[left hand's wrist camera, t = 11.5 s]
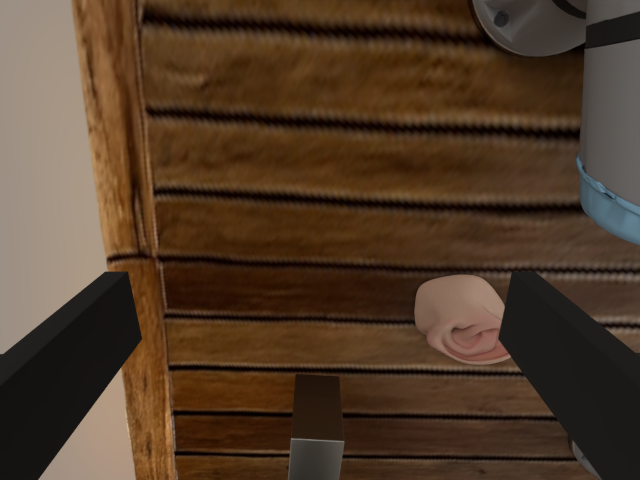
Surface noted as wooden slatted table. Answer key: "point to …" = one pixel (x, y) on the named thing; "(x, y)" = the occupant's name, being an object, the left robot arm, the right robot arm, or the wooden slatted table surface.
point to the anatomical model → (461, 318)
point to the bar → (316, 429)
